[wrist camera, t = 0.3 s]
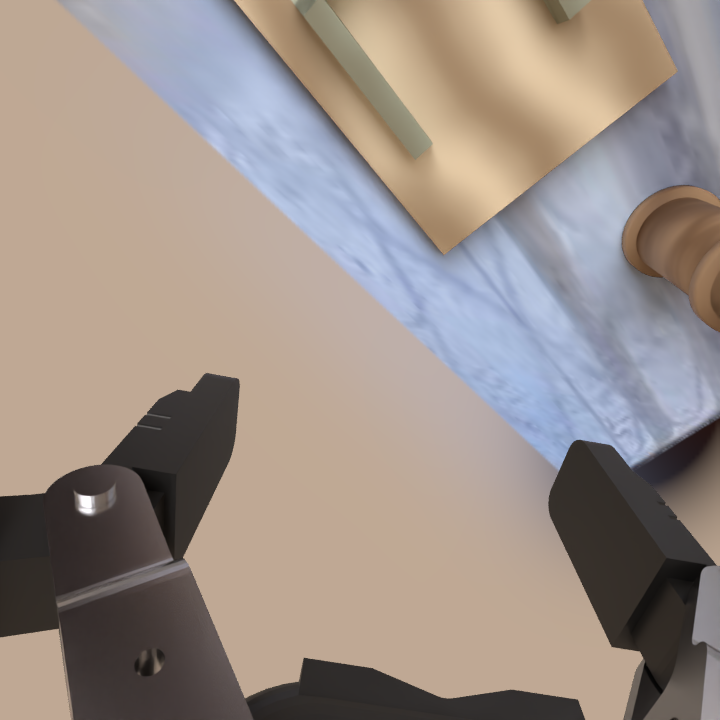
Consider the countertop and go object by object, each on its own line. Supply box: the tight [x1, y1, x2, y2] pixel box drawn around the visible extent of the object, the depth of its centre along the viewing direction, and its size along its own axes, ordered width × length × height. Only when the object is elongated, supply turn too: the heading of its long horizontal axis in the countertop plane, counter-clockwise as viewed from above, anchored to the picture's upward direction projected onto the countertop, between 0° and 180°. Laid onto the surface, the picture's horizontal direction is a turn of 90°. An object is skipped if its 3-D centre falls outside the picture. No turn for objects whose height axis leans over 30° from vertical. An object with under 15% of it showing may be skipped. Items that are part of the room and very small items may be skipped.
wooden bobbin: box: [622, 185, 720, 332], centre depth 26 cm, size 6×6×9 cm
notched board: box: [234, 0, 678, 255], centre depth 23 cm, size 15×21×4 cm
